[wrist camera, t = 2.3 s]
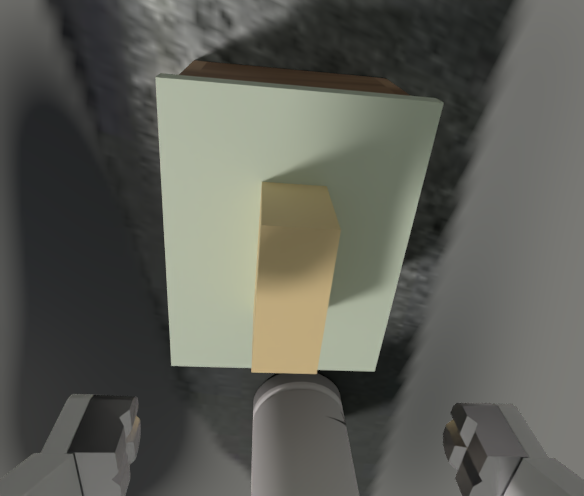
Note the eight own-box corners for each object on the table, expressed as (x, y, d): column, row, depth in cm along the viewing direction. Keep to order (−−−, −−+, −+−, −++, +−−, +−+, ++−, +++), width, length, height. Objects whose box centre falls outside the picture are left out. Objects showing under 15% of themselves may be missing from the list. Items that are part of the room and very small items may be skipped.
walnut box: (194, 60, 20) (170, 83, 15) (385, 78, 21) (425, 106, 16) (197, 278, 26) (180, 349, 21) (346, 285, 27) (366, 354, 22)
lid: (165, 69, 15) (126, 100, 11) (428, 93, 16) (489, 130, 12) (177, 342, 22) (155, 430, 17) (368, 348, 23) (392, 434, 18)
